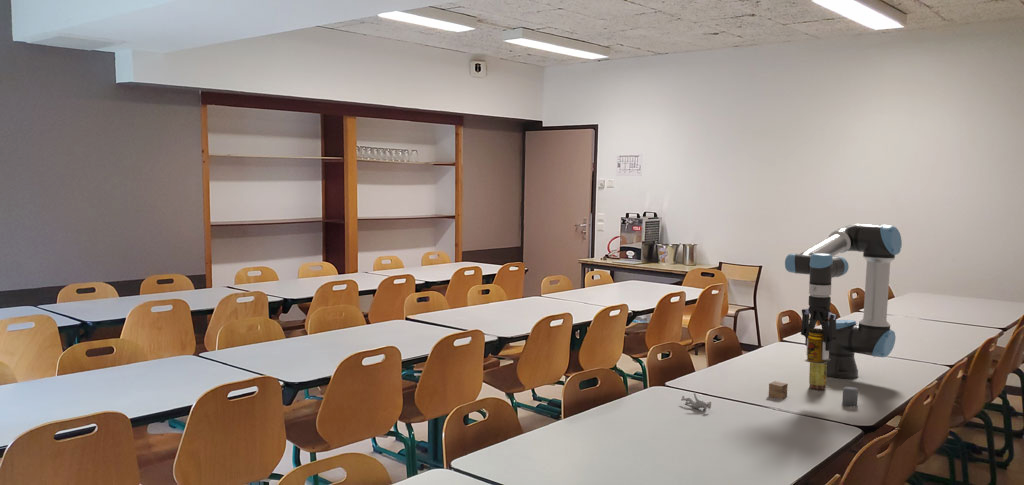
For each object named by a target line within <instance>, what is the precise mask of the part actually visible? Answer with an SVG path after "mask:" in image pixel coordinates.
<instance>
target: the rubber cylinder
mask: <svg viewBox="0 0 1024 485" xmlns="http://www.w3.org/2000/svg"><path fill="white" fill-rule="evenodd" d="M858 393H859V389H858V388H857V387H853V386H844V387H842V402H841V403H842V404H841V405H843V406H845V405H846V407H850V406H852V407H853V406H855V407H858V397H859V396H858ZM853 408H854V407H853Z"/></svg>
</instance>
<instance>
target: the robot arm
mask: <svg viewBox="0 0 1024 485" xmlns="http://www.w3.org/2000/svg"><path fill="white" fill-rule="evenodd" d="M902 242H903V240H902V235H901V233H900V231H899V229H898V227H896V226H894V225H889V224H868V223H853V224H849V225H845V226H843V227H841V228H838V229H836V230H834V231H832V232H831V233H830V234H829V235H828V237H826V238H825V239H823V240H822V241H820V242H818V243H816V244H815V245H813V246H811V247H810V248H807V249H805V250H804V251H803V252H801V253H788V255H787V256H786V257H785V260H784V267H785V270H786V271H787V272H788V273H794V274H796V275H797V274H798V275H799V274H800V275H809V283H808V284H809V285H808V286H809V287H808V295H809V296H808V308H802V309H801V315H802V318H801V326H800V327H801V329H800V335H801V336H804V337H805V342H804V343H805V346H806V354H807V353H808V336H809V330H810V329H813V328H815V327H816V325H817V322H818V321H819V324H820V326H821V329H822V331H823V335H824V339H825V341H824V342H823V351H822V359H823V360H825V359H831V360H829V361H828V362H827V373H826V377H832V378H837V379H838V378H839V379H853V378H857V377H858V376H859V369H858V366H857V363H856V359H855V354H861V355H865V356H872V357H874V358H875V357H876V358H877V357H878V358H886V357H888V356H889V355H890V354H891V353H892V351H893V349H894V346H895V343H896V333H895V331H894V330H892V329H891V324H890V322H888V321H887V318H888V316H887V315H888V304H889V303H888V302H889V300H888V299H889V288H890V286H889V284H890V274H891V273H890V271H891V270H890V269H891V263H892V261H894V260H895V258H896V255H899V254H900V253H901V249H902V245H903V244H902ZM847 252H858V253H862V256H863V259H865V260H866V270H865V282H864V283H865V286H864V287H865V288H864V301H863V302H864V303H863V316H862V319H861V320H859V321H858V324H857V321H856V320H854V319H837V318H838V314H837V313H835V314H834V313H833V312H831V310H830V307H831V301H832V300H831V298H832V297H831V295H832V278H839V277H842V276H844V275H845V274H847V273H848V271H849V262H848V261H847V259H846V258H844V257H843V256H837V255H838V254H844V253H847Z"/></svg>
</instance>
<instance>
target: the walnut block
mask: <svg viewBox="0 0 1024 485" xmlns="http://www.w3.org/2000/svg"><path fill="white" fill-rule="evenodd" d="M768 397H771V398H776V399H780V400H782V399H784V398H786V397H788V383H787V382H786V383H785V382H781V381H777V380H774V381H772V382H769V384H768Z"/></svg>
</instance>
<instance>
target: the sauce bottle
mask: <svg viewBox="0 0 1024 485" xmlns="http://www.w3.org/2000/svg"><path fill="white" fill-rule="evenodd" d="M808 373H809V376H808V377H809V378H808V379H809V380H808V384H809V388H811V389H813V390H816V391H817V390H821V391H823V390H825V389H826V386H827V375H826V373H827V362H826V363H825V364H818V363H811V362H809V372H808Z"/></svg>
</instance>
